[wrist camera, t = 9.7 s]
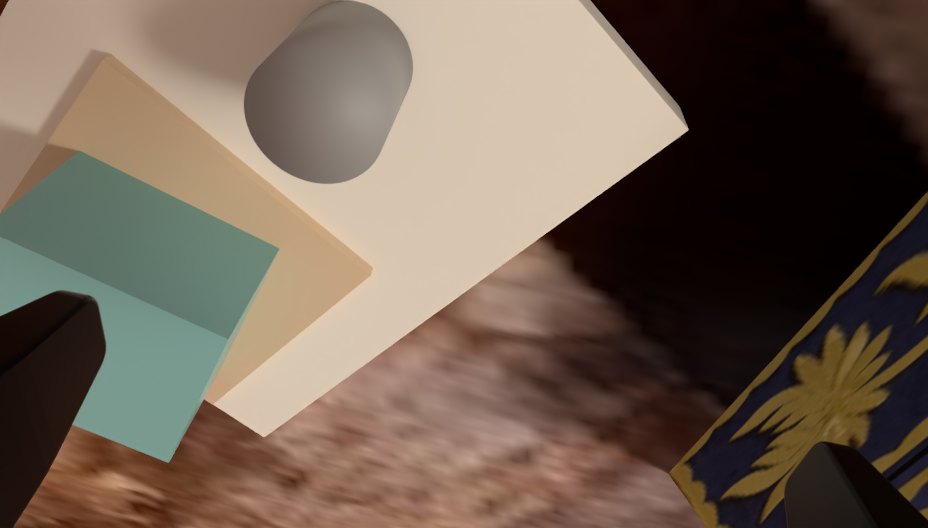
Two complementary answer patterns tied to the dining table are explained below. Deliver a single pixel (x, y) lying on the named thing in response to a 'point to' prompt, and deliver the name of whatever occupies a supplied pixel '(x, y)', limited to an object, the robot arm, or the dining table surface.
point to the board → (432, 172)
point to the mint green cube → (135, 291)
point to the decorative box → (829, 394)
